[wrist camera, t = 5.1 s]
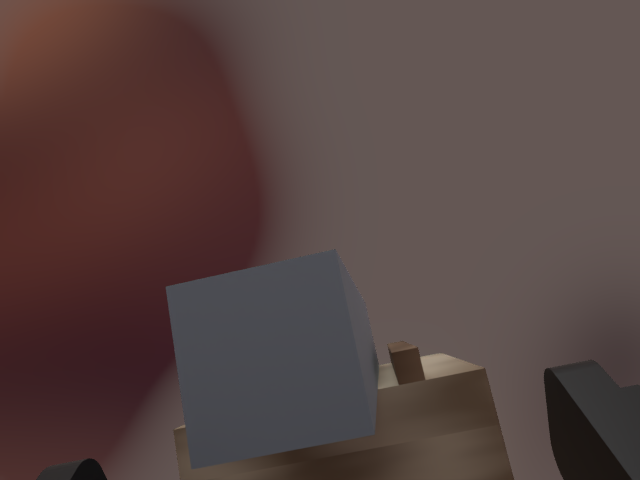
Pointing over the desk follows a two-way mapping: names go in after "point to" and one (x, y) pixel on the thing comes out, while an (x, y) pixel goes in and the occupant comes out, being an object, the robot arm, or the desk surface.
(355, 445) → the zigzag patterned block
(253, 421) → the bar
